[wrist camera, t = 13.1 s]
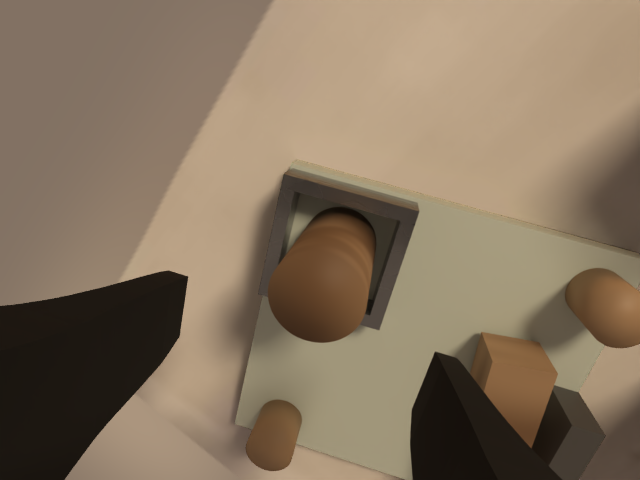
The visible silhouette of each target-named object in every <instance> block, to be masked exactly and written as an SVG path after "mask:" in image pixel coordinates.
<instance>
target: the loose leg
mask: <svg viewBox="0 0 640 480" xmlns="http://www.w3.org/2000/svg"><path fill="white" fill-rule="evenodd" d="M376 245H377V243H376V235H375V231H374V229H373V227H372V225H371V224H370V222H369V221H368V220H367V219H366V218H365V217H364V216H363V215H362V214H360V213H359V212H357V211H355V210H353V209H350V208H346V207H332V208H328V209H325V210H323V211H321V212H320V213H318V214H317V215H316V216H315V217H314V218H313V219H312V220H311V221H310V223H309V224H308V225H307V227H306V228H305V229H304V231H303V232H302V234H301V235H300V236H299V238H298V239H297V240H296V242H295V243H294V244H293V246H292V247H291V249H290V250H289V251H288V253H287V254H286V255H285V257H284V258H283V260H282V261H281V262H280V264H279V265H278V266H277V268H276V269H275V271H274V272H273V274H272V276H271V278H270V281H269V285H268V301H269V305H270V308H271V311H272V313H273V315H274V316H275V318H276V319H277V321H278V322H279V323H280V324H281V326H282V327H283V328H285V329H286V330H287V331H288V332H290V333H291V334H292V335H294V336H296V337H298V338H300V339H303V340H306V341H310V342H315V343H328V342H334V341H337V340H340V339H342V338H344V337H346V336H348V335H349V334H351V333H352V332H353V331H354V330H355V329H356V328H357V327H358V326H359V325H360V323H361V321H362V320H363V317H364V315H365V312H366V307H367V301H368V295H369V289H370V283H371V276H372V270H373V264H374V258H375V252H376Z"/></svg>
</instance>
